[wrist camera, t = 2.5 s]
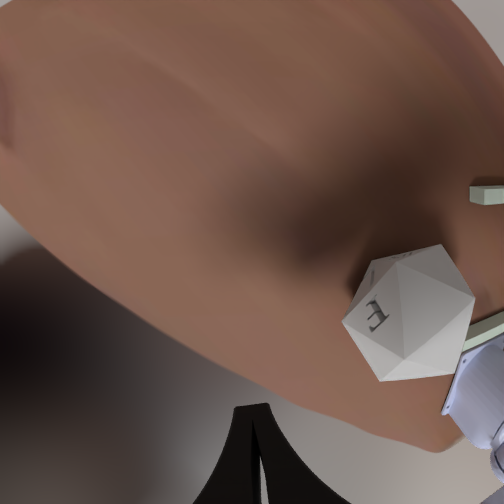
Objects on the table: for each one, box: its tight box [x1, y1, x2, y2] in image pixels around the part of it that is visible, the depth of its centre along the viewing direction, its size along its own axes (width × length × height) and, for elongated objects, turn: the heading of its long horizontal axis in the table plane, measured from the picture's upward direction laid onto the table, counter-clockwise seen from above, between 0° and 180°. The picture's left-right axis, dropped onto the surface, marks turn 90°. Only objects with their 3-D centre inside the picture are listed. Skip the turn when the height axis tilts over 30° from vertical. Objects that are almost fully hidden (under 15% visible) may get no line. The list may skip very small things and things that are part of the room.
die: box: [341, 244, 475, 381], centre depth 16 cm, size 8×9×10 cm
